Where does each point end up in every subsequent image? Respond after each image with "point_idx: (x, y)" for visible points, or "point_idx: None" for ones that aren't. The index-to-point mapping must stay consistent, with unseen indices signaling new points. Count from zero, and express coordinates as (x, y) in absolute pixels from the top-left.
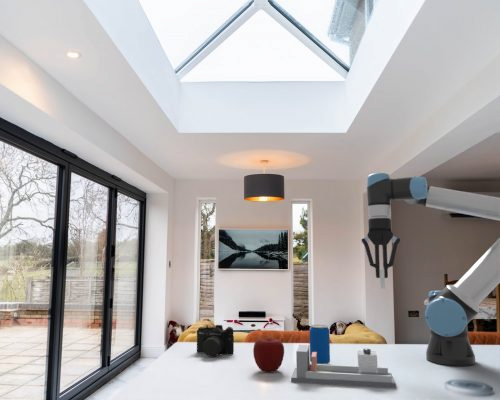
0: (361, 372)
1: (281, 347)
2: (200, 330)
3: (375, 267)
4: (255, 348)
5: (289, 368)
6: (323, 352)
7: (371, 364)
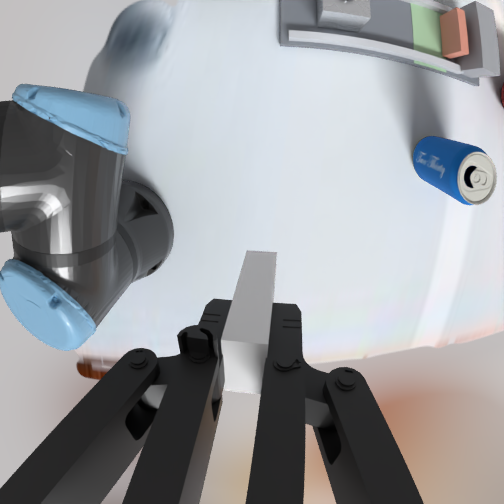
0: None
1: None
2: None
3: (306, 368)
4: None
5: (484, 116)
6: (439, 138)
7: None
